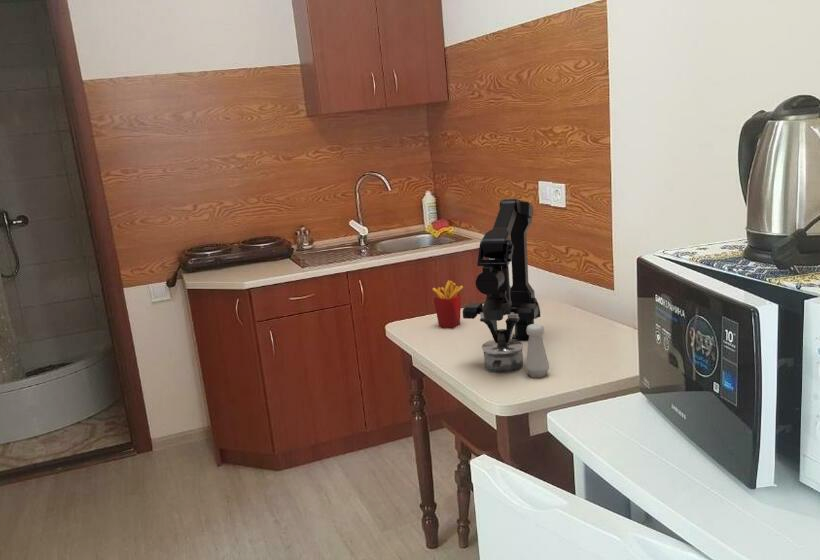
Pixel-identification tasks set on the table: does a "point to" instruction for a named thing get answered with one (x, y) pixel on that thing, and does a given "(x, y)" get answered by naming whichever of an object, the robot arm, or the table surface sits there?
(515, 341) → the lid
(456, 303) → the french fries
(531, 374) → the salt shaker
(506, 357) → the pot
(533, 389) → the table surface
